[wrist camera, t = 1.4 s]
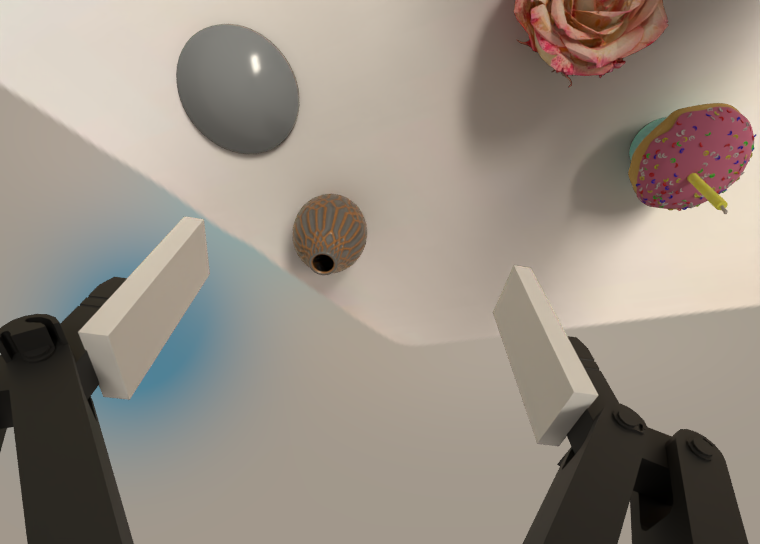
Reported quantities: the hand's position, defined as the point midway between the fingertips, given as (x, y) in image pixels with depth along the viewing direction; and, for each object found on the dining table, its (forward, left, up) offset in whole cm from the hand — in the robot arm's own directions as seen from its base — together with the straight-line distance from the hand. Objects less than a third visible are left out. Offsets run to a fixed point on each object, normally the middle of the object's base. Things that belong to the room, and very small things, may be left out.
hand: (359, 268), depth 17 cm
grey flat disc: (-1, -12, -22) cm, 25 cm away
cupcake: (-4, +25, -22) cm, 34 cm away
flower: (-12, +12, -22) cm, 28 cm away
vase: (+9, -2, -22) cm, 24 cm away
